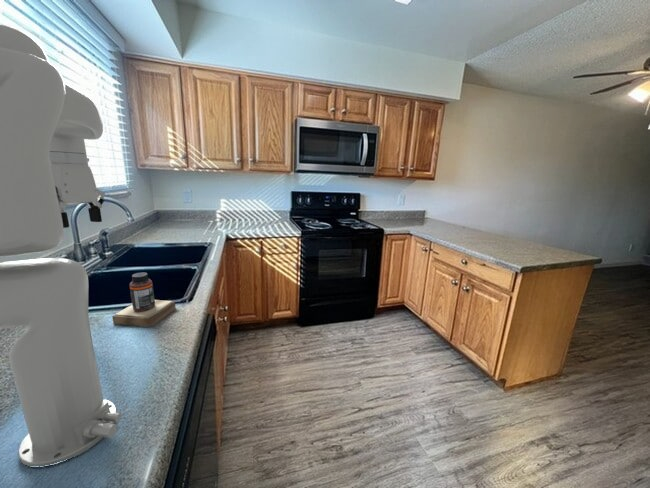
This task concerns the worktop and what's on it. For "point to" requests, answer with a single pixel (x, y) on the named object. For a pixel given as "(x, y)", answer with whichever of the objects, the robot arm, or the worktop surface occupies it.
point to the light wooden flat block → (144, 314)
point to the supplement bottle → (142, 292)
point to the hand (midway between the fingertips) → (80, 224)
